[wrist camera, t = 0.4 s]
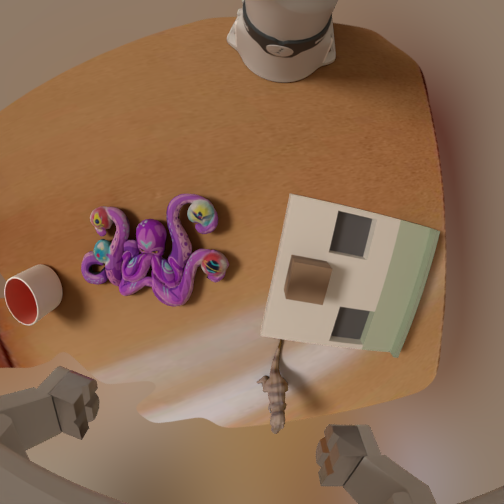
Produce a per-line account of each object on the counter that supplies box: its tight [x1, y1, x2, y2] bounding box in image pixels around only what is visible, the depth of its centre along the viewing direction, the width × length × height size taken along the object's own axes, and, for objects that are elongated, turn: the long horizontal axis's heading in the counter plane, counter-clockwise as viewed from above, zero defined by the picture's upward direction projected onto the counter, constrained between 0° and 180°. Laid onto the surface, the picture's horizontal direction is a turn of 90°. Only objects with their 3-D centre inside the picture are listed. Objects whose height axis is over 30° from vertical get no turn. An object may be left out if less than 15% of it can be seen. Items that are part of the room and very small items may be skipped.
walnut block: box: [284, 255, 332, 305], centre depth 49 cm, size 6×6×4 cm
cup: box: [4, 265, 62, 325], centre depth 51 cm, size 10×10×10 cm
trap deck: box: [261, 194, 440, 358], centre depth 52 cm, size 25×27×4 cm
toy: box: [257, 339, 288, 434], centre depth 55 cm, size 7×17×10 cm
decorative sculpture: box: [81, 194, 229, 306], centre depth 51 cm, size 29×5×20 cm
